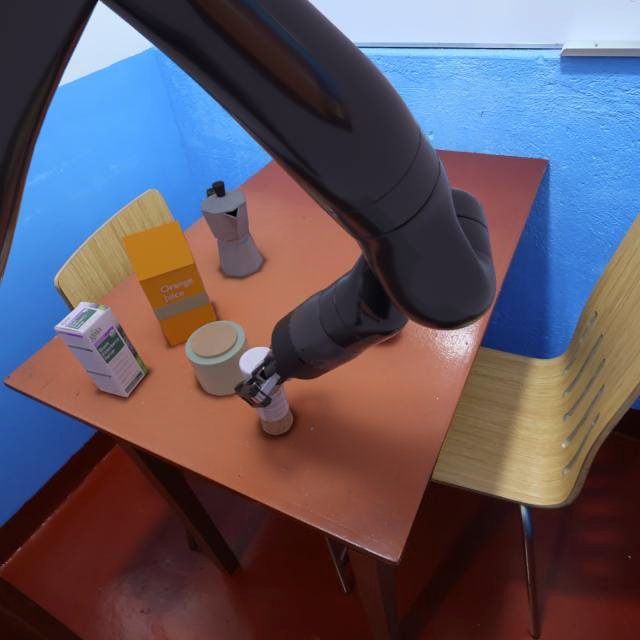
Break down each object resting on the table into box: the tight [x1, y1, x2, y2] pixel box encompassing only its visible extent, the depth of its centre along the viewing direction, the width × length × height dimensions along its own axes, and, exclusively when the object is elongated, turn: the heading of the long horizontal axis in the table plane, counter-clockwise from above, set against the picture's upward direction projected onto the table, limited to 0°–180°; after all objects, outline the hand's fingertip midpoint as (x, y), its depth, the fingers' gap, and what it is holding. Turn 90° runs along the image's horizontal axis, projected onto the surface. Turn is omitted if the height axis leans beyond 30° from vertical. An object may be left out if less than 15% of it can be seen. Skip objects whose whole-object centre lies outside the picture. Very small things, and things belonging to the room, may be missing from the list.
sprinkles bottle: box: [239, 346, 294, 436], centre depth 62 cm, size 5×5×13 cm
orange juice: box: [121, 219, 218, 347], centre depth 77 cm, size 8×9×20 cm
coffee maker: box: [200, 180, 264, 279], centre depth 90 cm, size 15×9×18 cm, turn 31°
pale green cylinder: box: [184, 320, 251, 397], centre depth 72 cm, size 9×9×8 cm
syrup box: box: [53, 301, 149, 398], centre depth 71 cm, size 6×6×14 cm
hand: (252, 377), depth 61 cm, fingers closed on sprinkles bottle, 4 cm apart
